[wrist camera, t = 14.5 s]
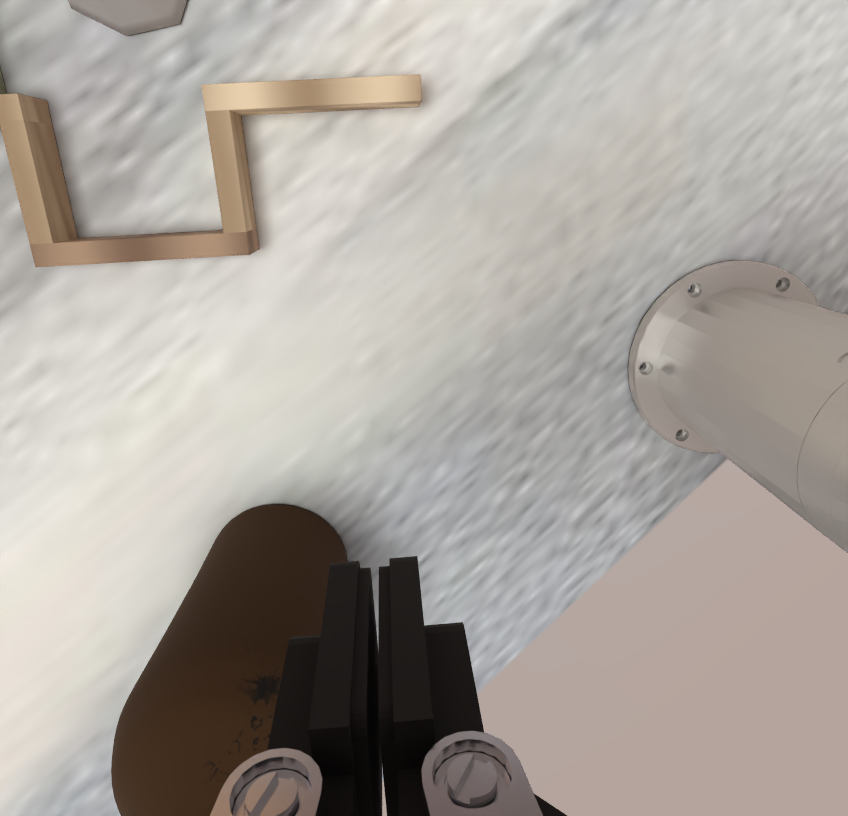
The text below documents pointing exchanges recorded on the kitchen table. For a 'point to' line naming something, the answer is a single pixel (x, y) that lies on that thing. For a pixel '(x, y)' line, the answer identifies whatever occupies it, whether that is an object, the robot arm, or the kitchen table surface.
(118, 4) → the flask
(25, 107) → the zigzag wooden frame
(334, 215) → the kitchen table surface
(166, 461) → the kitchen table surface
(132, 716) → the olive oil
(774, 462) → the robot arm
